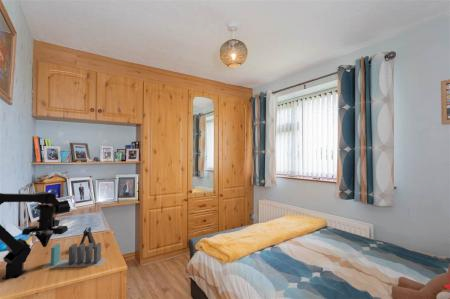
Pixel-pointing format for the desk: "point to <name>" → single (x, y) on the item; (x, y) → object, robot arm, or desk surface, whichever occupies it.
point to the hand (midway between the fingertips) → (44, 246)
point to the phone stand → (90, 237)
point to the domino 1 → (55, 254)
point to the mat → (66, 264)
